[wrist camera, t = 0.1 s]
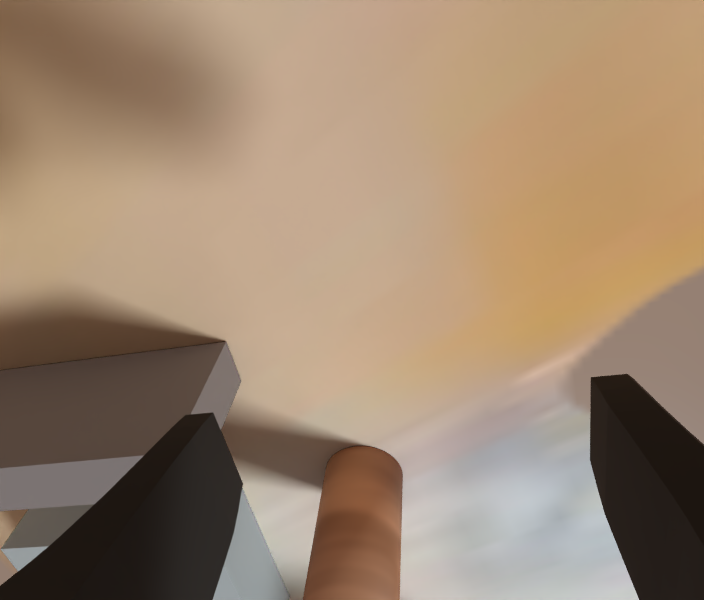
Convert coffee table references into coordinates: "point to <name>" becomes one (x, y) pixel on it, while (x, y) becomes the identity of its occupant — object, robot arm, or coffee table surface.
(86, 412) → the charcoal wall
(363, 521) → the dowel
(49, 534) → the socket block
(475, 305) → the coffee table surface
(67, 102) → the coffee table surface
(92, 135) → the coffee table surface
